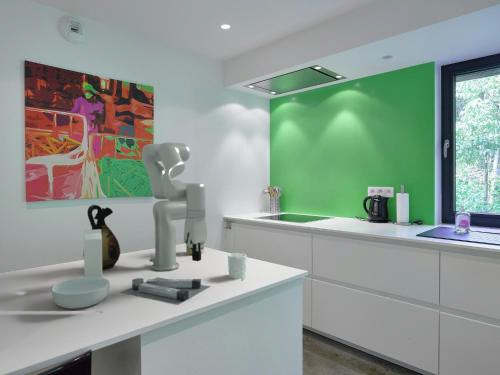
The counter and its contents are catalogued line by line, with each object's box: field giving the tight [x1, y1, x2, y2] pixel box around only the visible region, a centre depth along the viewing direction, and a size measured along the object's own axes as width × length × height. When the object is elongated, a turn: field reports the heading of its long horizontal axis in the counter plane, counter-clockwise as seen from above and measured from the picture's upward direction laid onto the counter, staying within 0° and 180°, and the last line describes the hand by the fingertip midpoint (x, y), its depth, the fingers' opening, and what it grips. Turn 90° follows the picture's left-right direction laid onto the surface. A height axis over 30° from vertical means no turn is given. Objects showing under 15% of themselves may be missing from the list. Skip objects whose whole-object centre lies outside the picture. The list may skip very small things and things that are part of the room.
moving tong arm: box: [131, 277, 202, 290], centre depth 121 cm, size 25×5×3 cm, turn 90°
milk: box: [83, 229, 103, 278], centre depth 126 cm, size 6×6×22 cm
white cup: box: [227, 252, 248, 281], centre depth 137 cm, size 8×8×10 cm
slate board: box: [119, 277, 211, 306], centre depth 120 cm, size 26×20×1 cm
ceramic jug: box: [83, 204, 121, 271], centre depth 148 cm, size 17×15×30 cm
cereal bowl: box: [51, 277, 111, 310], centre depth 107 cm, size 17×17×7 cm
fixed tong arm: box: [139, 283, 189, 302], centre depth 114 cm, size 20×3×3 cm, turn 65°
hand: (196, 260), depth 129 cm, fingers closed
